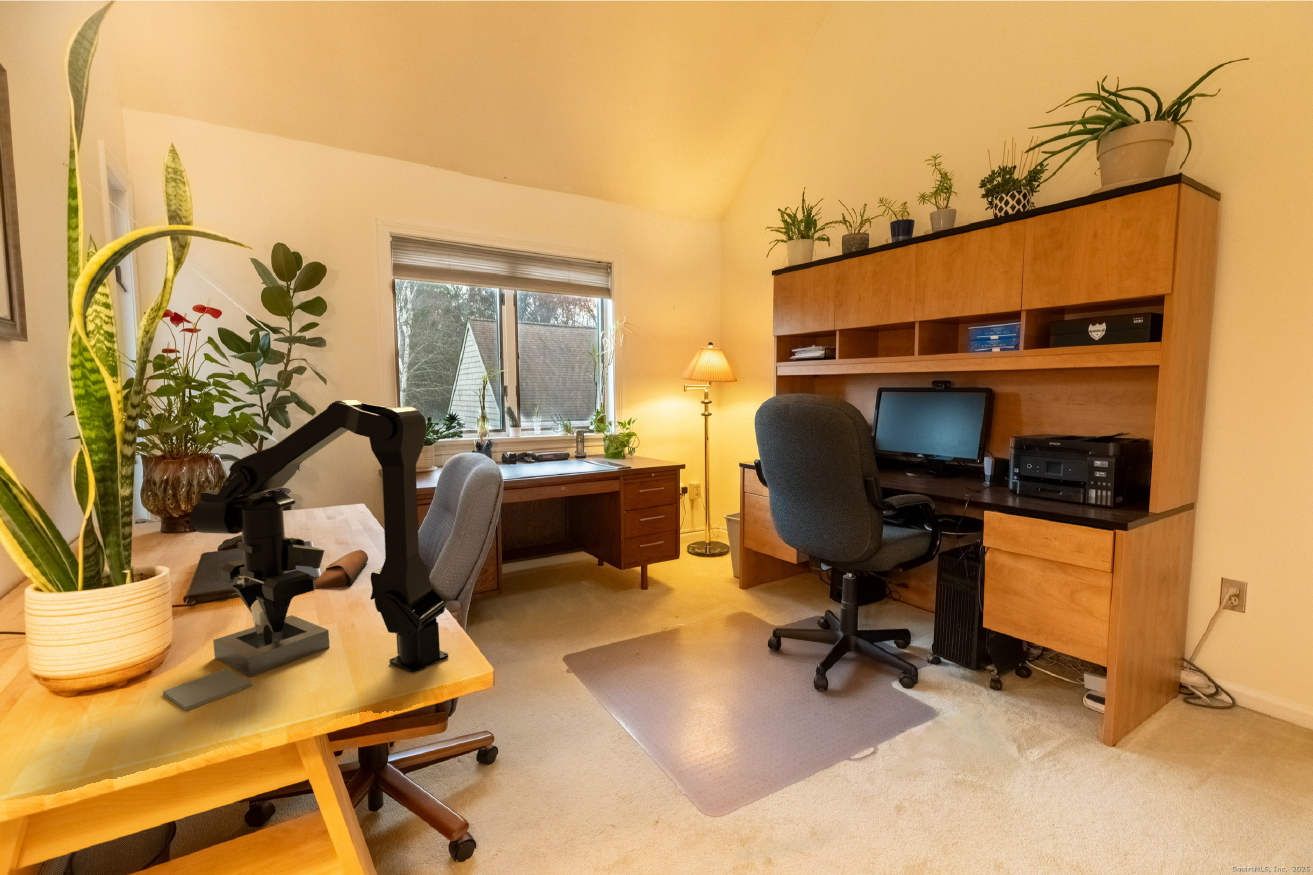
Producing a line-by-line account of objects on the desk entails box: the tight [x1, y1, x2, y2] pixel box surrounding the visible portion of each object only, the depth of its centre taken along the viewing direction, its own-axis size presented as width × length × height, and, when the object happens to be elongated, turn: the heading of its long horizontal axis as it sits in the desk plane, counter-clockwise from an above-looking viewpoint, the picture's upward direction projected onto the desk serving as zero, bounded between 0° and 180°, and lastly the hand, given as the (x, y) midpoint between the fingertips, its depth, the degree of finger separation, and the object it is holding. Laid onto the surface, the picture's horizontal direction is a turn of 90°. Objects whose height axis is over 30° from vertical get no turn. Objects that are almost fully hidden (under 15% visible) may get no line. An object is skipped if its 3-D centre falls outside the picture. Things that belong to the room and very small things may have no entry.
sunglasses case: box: [315, 549, 369, 590], centre depth 139 cm, size 18×7×7 cm, turn 15°
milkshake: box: [250, 600, 283, 648], centre depth 99 cm, size 4×5×10 cm
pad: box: [162, 668, 252, 711], centre depth 88 cm, size 8×8×1 cm
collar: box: [212, 614, 330, 678], centre depth 99 cm, size 12×12×3 cm
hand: (270, 628), depth 99 cm, fingers closed on milkshake, 4 cm apart
